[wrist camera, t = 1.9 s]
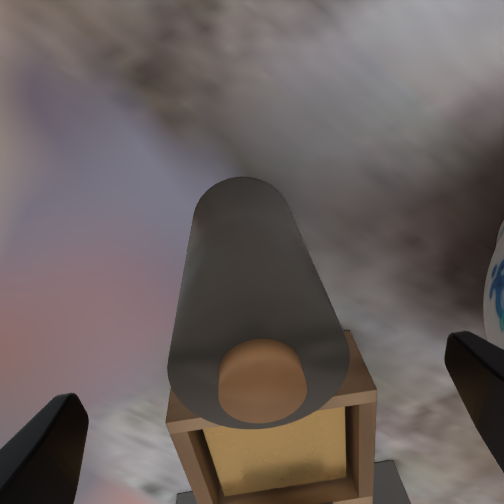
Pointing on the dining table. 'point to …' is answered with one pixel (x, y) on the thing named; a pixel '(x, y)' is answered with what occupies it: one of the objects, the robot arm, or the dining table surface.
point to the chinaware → (495, 295)
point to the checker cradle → (298, 496)
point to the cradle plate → (280, 453)
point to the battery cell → (253, 315)
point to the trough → (384, 487)
